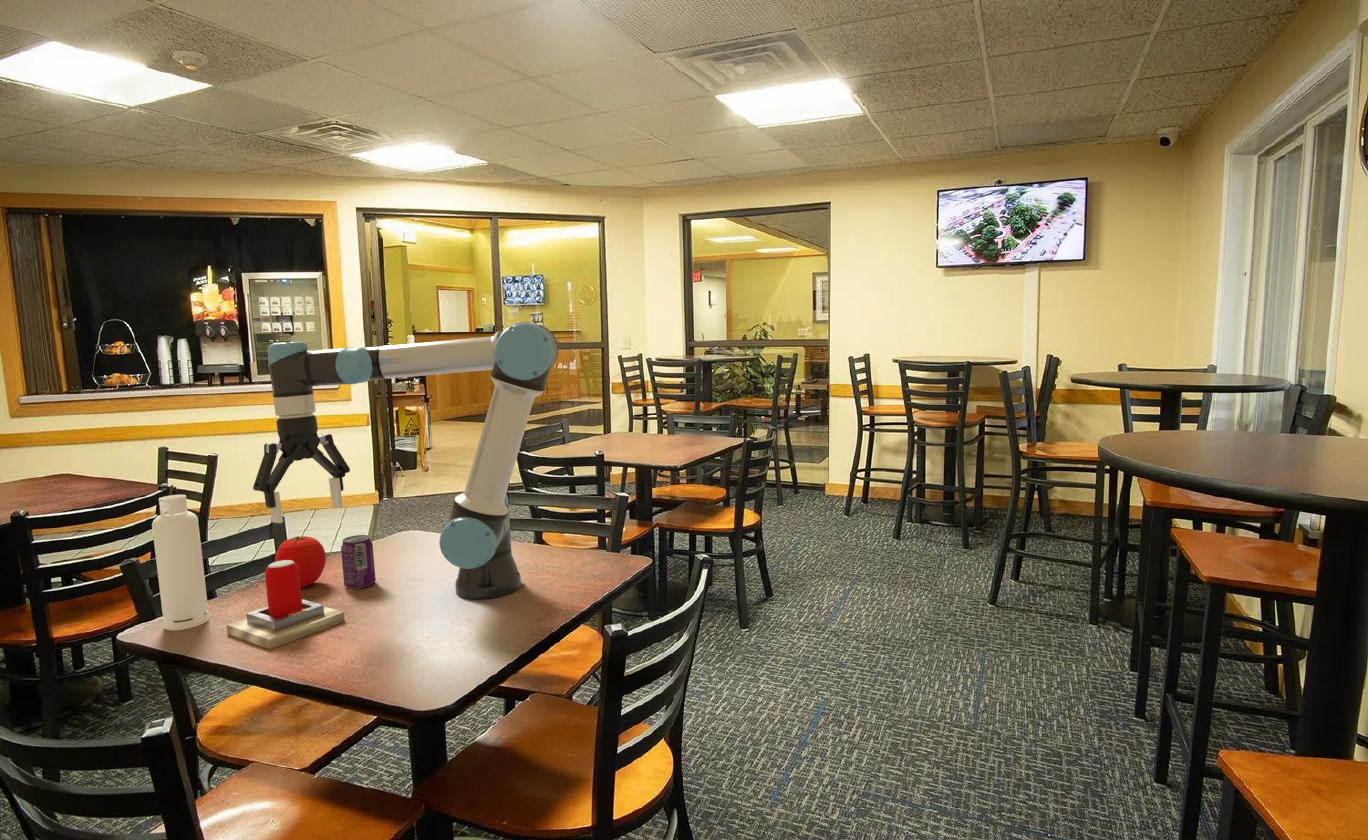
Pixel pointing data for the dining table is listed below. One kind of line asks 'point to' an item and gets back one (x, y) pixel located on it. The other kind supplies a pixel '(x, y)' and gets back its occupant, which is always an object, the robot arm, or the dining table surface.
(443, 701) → the dining table surface
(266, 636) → the hub board
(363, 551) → the beverage can
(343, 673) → the dining table surface
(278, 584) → the beverage can
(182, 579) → the bottle
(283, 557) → the tomato
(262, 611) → the frame
